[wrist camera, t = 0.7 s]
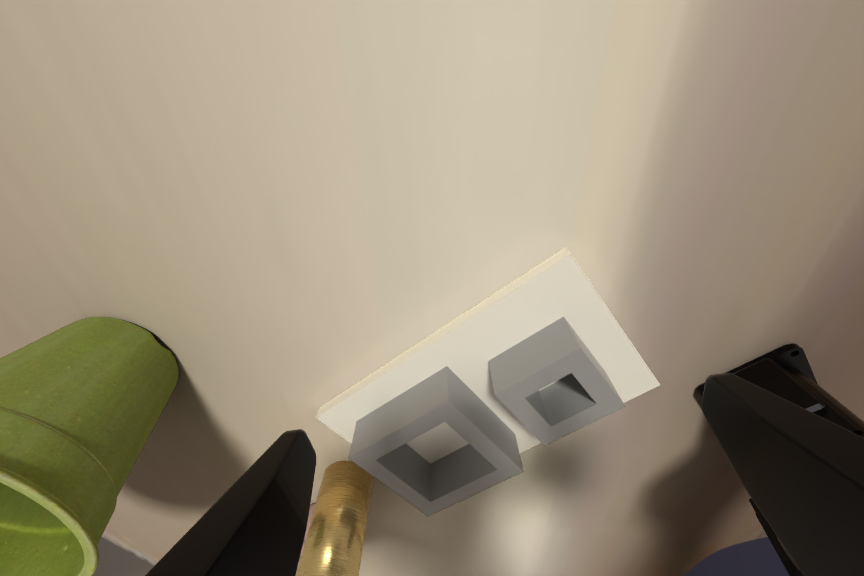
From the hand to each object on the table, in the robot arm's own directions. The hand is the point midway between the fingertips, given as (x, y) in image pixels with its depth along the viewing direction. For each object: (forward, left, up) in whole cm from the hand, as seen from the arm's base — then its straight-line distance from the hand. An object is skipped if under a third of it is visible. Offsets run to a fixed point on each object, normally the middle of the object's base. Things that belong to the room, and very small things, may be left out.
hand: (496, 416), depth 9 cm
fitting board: (-11, +6, -14) cm, 19 cm away
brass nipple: (-12, +20, -14) cm, 28 cm away
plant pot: (+6, +23, -14) cm, 28 cm away
